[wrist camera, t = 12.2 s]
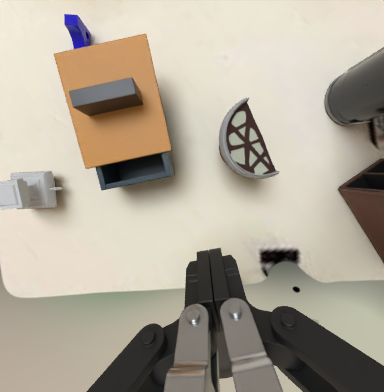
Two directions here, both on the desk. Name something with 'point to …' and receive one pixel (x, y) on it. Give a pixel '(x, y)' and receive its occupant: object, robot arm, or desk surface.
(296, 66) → the desk surface
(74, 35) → the cable holder
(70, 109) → the lid
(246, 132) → the food container
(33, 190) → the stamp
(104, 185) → the bin
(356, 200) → the letter holder
